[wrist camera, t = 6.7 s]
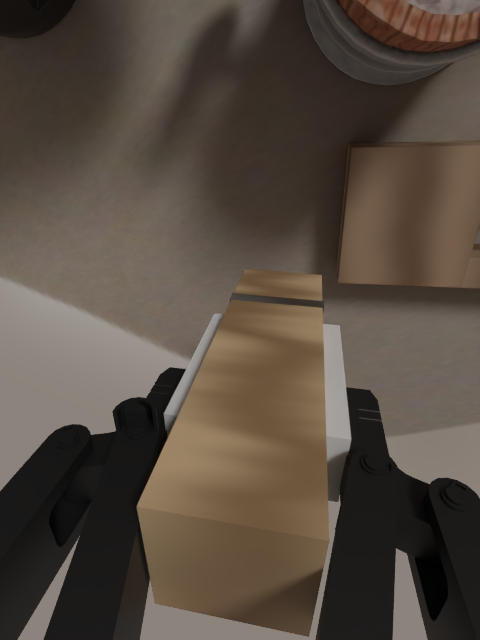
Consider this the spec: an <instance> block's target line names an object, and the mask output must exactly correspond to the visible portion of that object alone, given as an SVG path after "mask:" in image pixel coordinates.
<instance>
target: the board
mask: <svg viewBox="0 0 480 640" xmlns="http://www.w3.org/2000/svg"><path fill="white" fill-rule="evenodd" d="M479 225H480V141H450V142H398V143H348V153H347V163H346V173H345V183H344V193H343V203H342V213H341V224H340V234H339V244H338V254H337V264H336V272H337V279H338V283H353V284H379V285H405V286H430V287H456V288H480V244H474V242H475V239H476V235H477V232H478V228H479Z"/></svg>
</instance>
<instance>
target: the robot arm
mask: <svg viewBox="0 0 480 640" xmlns="http://www.w3.org/2000/svg"><path fill="white" fill-rule="evenodd" d="M74 1H75V0H0V36H5V37H10V38H27V37H32V36H36V35H39V34H42V33H44V32H46V31H47V30H49V29H51V28H52V27H53V26H55V25H56V24H57V23H58V22H59V21H60V20H61V19H62V18H63V17H64V16H65V15H66V13H67V12H68V11H69V9H70V8H71V6H72V4H73V3H74ZM223 316H224V314H214V316H213V318H212V320H211V321H210V323H209V325H208V327H207V329H206V331H205V333H204V335H203V337H202V339H201V341H200V343H199V345H198V347H197V349H196V351H195V353H194V355H193V357H192V359H191V361H190V363H189V365H188V367H187V369H179V368H171V367H170V368H168V369H167V370H166V371H164V372H163V373H162V374H160V376H159V378H158V379H157V381H156V382H155V385H154V386H153V388H152V389H151V392H150V393H149V394H148V396H147V398H141V397H137V398H130V399H128V400H125V401H123V402H121V403H120V404H119V405H117V406H116V407H115V409H114V410H113V417H114V422H115V426H116V431H115V432H111V433H104V434H95V435H91V434H90V431H89V430H88V429H87V427H85V426H82V425H74V424H72V425H68V426H64V427H62V428H60V429H57V430H55V431H54V432H53V433H52V434H51V435H50V436H48V438H47V439H46V440H45V441H44V442H43V443H42V444H41V446H40V447H39V448H38V449H37V450H36V451H35V452H34V453H33V455H32V456H31V457H30V458H29V459H28V460H27V461H26V463H25V464H24V465H23V466H22V467H21V468H20V469H19V471H18V472H17V473H16V474H15V475H14V476H13V477H12V478H11V480H10V481H9V482H8V483H7V484H6V485H5V487H4V488H3V489H2V490H1V491H0V640H17V639H18V637H19V636H20V634H21V632H22V631H23V629H24V628H25V626H26V624H27V622H28V621H29V619H30V617H31V616H32V614H33V613H34V611H35V609H36V608H37V606H38V604H39V603H40V601H41V599H42V597H43V596H44V594H45V593H46V591H47V589H48V588H49V586H50V584H51V582H52V581H53V579H54V577H55V576H56V574H57V572H58V571H59V569H60V567H61V566H62V564H63V563H64V561H65V559H66V558H67V556H68V554H69V553H70V550H71V549H72V548H73V546H74V544H75V542H76V541H77V539H78V538H79V540H78V543H77V546H76V549H75V551H74V555H73V557H72V560H71V563H70V566H69V569H68V571H67V574H66V577H65V580H64V583H63V586H62V589H61V592H60V594H59V597H58V600H57V603H56V606H55V609H54V611H53V615H52V617H51V620H50V623H49V626H48V629H47V631H46V634H45V637H44V640H140V634H141V627H142V622H143V616H144V610H145V604H146V599H147V592H148V587H149V581H150V575H149V570H148V564H147V559H146V554H145V549H144V543H143V538H142V533H141V528H140V522H139V517H138V512H137V507H136V506H137V504H138V502H139V500H140V498H141V496H142V493H143V491H144V489H145V487H146V485H147V482H148V480H149V478H150V476H151V474H152V471H153V469H154V467H155V465H156V463H157V461H158V458H159V456H160V454H161V452H162V450H163V447H164V445H165V443H166V441H167V439H168V437H169V434H170V432H171V430H172V428H173V426H174V423H175V421H176V419H177V417H178V415H179V412H180V410H181V408H182V406H183V404H184V402H185V399H186V397H187V395H188V393H189V391H190V388H191V386H192V384H193V382H194V380H195V378H196V375H197V373H198V371H199V369H200V367H201V364H202V362H203V360H204V358H205V356H206V354H207V351H208V349H209V347H210V345H211V343H212V340H213V338H214V336H215V334H216V332H217V329H218V327H219V325H220V323H221V321H222V319H223ZM323 338H324V374H325V409H326V445H327V481H328V500H329V501H335V502H338V500H339V495H340V501H341V506H340V510H339V515H338V519H337V524H336V528H335V530H336V531H335V537H334V542H333V547H332V553H331V558H330V564H329V569H328V575H327V580H326V586H325V591H324V597H323V602H322V608H321V613H320V619H319V624H318V630H317V635H316V640H392V636H393V609H394V582H395V555H396V548H397V549H399V550H401V551H403V552H405V553H407V555H408V559H409V564H410V568H411V572H412V576H413V580H414V584H415V588H416V593H417V597H418V601H419V605H420V609H421V614H422V617H423V622H424V626H425V630H426V634H427V638H428V640H480V498H479V497H478V495H477V494H476V493H475V492H474V491H473V490H472V489H471V488H469V487H468V486H467V485H465V484H463V483H461V482H459V481H457V480H454V479H450V478H437V479H436V480H434V481H432V482H431V484H427V483H425V482H422V481H420V480H418V479H415V478H413V477H411V476H409V475H407V474H405V473H404V472H402V471H401V470H400V469H399V468H398V467H397V465H396V464H395V462H394V461H393V460H392V458H390V456H389V453H388V448H387V444H386V439H385V434H384V429H383V424H382V422H381V420H382V419H381V415H380V410H379V405H378V400H377V399H376V398H375V396H374V395H373V394H372V393H371V391H370V390H364V389H356V388H347V387H346V382H345V373H344V363H343V353H342V344H341V334H340V325H329V324H323ZM79 536H80V537H79Z"/></svg>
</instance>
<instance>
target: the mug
mask: <svg viewBox="0 0 480 640" xmlns="http://www.w3.org/2000/svg"><path fill="white" fill-rule="evenodd" d="M303 5H304V10H305V15H306V19H307V22H308V24H309V27H310V29H311V32H312V34H313V37H314V39H315V41H316V42H317V44H318V45H319V47H320V48H321V50H322V52H323V53H324V55H325V56H326V57H327V58H328V59H329V60H330V61H331V62H332V63H333V64H334V65H335V66H336V67H337V68H338V69H340V70H341V71H343V72H344V73H346V74H348V75H349V76H351V77H353V78H355V79H358V80H361V81H364V82H367V83H370V84H380V85H395V84H402V83H409V82H412V81H415V80H418V79H421V78H423V77H426V76H429V75H431V74H433V73H435V72H436V71H438V70H440V69H442V68H443V67H445V66H447V65H449V64H450V63H451V62H455V61H457V60H460V59H463V58H466V57H469V56H471V55H474V54H477V53H480V0H303Z"/></svg>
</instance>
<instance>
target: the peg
mask: <svg viewBox="0 0 480 640" xmlns="http://www.w3.org/2000/svg"><path fill="white" fill-rule="evenodd" d="M323 311H324V301H322V275H316V274H303V273H289V272H276V271H263V270H250V269H245V270H244V273H243V275H242V277H241V279H240V281H239V284H238V286H237V288H236V290H235V292H234V293H232V295H231V298H230V303H229V305H228V308H227V310H226V312H225V314H224V316H223V319H222V321H221V323H220V325H219V327H218V329H217V332H216V334H215V336H214V338H213V340H212V343H211V345H210V347H209V349H208V351H207V354H206V356H205V358H204V360H203V362H202V364H201V367H200V369H199V371H198V373H197V375H196V378H195V380H194V382H193V384H192V386H191V388H190V391H189V393H188V395H187V397H186V399H185V402H184V404H183V406H182V408H181V410H180V412H179V415H178V417H177V419H176V421H175V423H174V426H173V428H172V430H171V432H170V434H169V437H168V439H167V441H166V443H165V445H164V447H163V450H162V452H161V454H160V456H159V458H158V461H157V463H156V465H155V467H154V469H153V471H152V474H151V476H150V478H149V480H148V482H147V485H146V487H145V489H144V491H143V493H142V496H141V498H140V500H139V502H138V504H137V506H136V507H137V512H138V517H139V522H140V528H141V533H142V538H143V543H144V549H145V554H146V559H147V564H148V570H149V575H150V580H151V586H152V591H153V596H154V601H155V603H156V604H160V605H165V606H169V607H174V608H179V609H184V610H188V611H192V612H197V613H202V614H206V615H211V616H216V617H220V618H225V619H229V620H235V621H239V622H243V623H248V624H252V625H257V626H262V627H266V628H271V629H276V630H280V631H285V632H290V633H294V634H299V635H303V636H308V637H309V633H310V629H311V624H312V619H313V614H314V609H315V605H316V600H317V596H318V591H319V586H320V582H321V577H322V572H323V567H324V563H325V558H326V553H327V548H328V544H329V519H328V518H329V516H328V481H327V445H326V409H325V374H324V338H323Z"/></svg>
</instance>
